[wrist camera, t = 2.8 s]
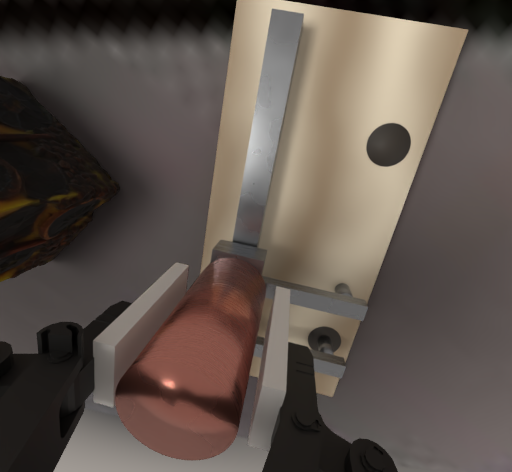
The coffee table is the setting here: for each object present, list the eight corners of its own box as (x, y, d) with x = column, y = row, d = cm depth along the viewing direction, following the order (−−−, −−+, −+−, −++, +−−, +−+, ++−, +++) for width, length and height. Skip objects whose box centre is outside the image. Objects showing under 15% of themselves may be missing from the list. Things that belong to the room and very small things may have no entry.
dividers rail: (215, 356, 22) (205, 384, 20) (274, 21, 15) (269, -6, 12) (323, 384, 22) (327, 417, 19) (440, 49, 14) (473, 26, 12)
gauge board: (193, 349, 24) (188, 359, 23) (242, 4, 16) (237, -8, 15) (330, 384, 23) (332, 397, 22) (455, 38, 15) (469, 29, 14)
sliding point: (210, 287, 20) (113, 444, 9) (219, 230, 19) (116, 340, 8) (347, 320, 19) (411, 531, 9) (367, 264, 18) (472, 433, 7)
